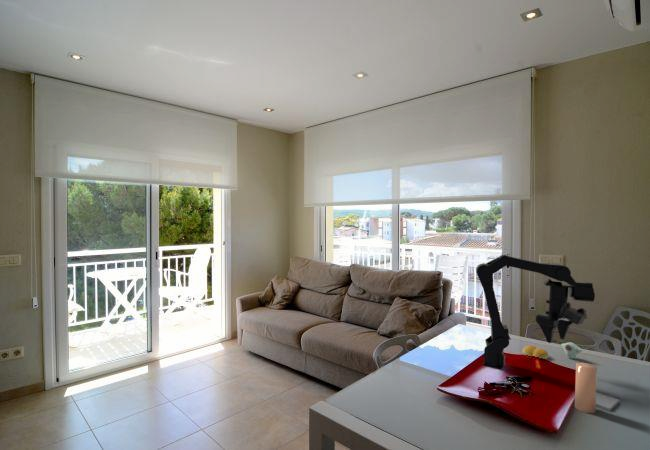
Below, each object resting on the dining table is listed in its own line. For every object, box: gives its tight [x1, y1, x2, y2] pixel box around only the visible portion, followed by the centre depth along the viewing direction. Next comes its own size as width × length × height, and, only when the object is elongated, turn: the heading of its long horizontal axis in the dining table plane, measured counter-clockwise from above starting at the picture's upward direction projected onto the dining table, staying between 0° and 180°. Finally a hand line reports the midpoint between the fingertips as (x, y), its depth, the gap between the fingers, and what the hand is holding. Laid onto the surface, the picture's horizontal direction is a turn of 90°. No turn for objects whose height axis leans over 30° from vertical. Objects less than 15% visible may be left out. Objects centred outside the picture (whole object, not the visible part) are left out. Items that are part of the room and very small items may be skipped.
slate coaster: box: [596, 392, 620, 412], centre depth 111 cm, size 9×9×1 cm
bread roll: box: [522, 344, 549, 360], centre depth 148 cm, size 8×9×4 cm
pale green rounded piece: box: [561, 341, 584, 359], centre depth 146 cm, size 8×4×7 cm, turn 27°
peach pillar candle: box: [574, 361, 598, 414], centre depth 106 cm, size 5×5×13 cm
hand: (555, 340), depth 129 cm, fingers open, 9 cm apart
